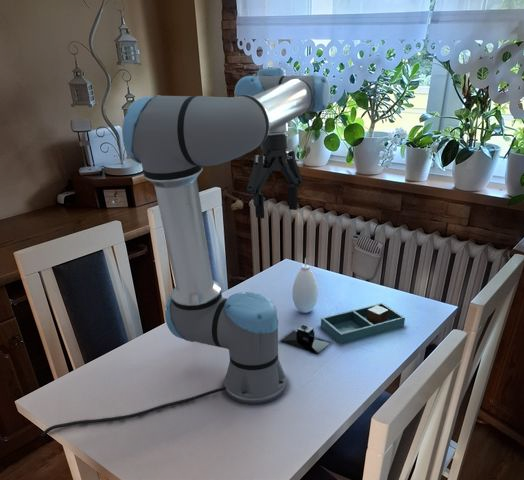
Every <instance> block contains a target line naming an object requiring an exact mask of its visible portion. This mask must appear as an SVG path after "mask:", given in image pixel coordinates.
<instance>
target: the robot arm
mask: <svg viewBox="0 0 524 480" xmlns="http://www.w3.org/2000/svg"><path fill="white" fill-rule="evenodd" d="M330 99H331V85H330V80H329V78H328V77H327V76H326V75H324V74H305V75H287V74H286V70H285V69H284V68H282V67H267V68H260V69H258V70H257V73H256V75H250V74H249V75H246V76H243V77H241V78H240V79H239V80H238V81H237V82H236V84H235V87H234V96H231V97H230V96H229V97H227V96H212V95H211V96H208V95H195V96H194V95H193V96H191V95H160V94H158V95H152V96H143V97H139V98H136V99H135V100H134V101H132V103H131V104H130V105H129V107H128V108H127V110H126V114H125V116H124V118H123V121H122V130H121V134H122V135H121V136H122V143H123V147H124V150H125V153H126V154H127V155H128V157H130V159H131V161H133V162H136V163H137V164H141V168H142V172H143V176H144V178H145V179H146V180H147V181H149V182H150V183H151V184H152V185H153V186H154V191H155V195H156V200H157V205H158V209H159V215H160V219H161V222H162V228H163V232H164V237H165V242H166V247H167V253H168V256H169V262H170V265H171V271H172V274H173V279H174V284H175V285H174V286H175V287H174V288H172V290H171V293H170V295H169V297H168V299H167V301H166V303H165V304H166V305H165V308H166V310H165V311H164V316H165V323H166V326H167V328H168V329H169V331H170V333H171V334H172V335H173V336H175V337H176V338H178V339H182V340H184V341H187V342H190V343H200V344H203V345H208V346H211V347H217V348H222V349H226V350H228V355H229V362H228V366H227V370H226V373H225V376H224V379H223V385H224V386H222V387H219V388H215V389H212V390H209V391H206V392H203V393H200V394H197V395H194V396H191V397H187V398H184V399H180V400H176V401H173V402H172V401H171V402H168V403H165V404H161V405H158V406H154V407H151V408H148V409H145V410H142V411H138V412H135V413H130V414H125V415H120V416H113V417H105V418H104V417H103V418H95V419H83V420H81V419H80V420H75V421H71V422H65V423H58V424H54V425H51V426H49V427H47V428H46V429H45V430H44V431H43V432H42V433H41V434H40V437H41V438H42V437H45V436H47V434H48V433H50V432H52V431H53V430H56V429H61V428H66V427H71V426H76V425H85V424H86V425H87V424H98V423H99V424H100V423H106V422H114V421H121V420H127V419H132V418H136V417H140V416H143V415H146V414H150V413H154V412H156V411H159V410H162V409H166V408H169V407H173V406H177V405H180V404H185V403H189V402H192V401H195V400H199V399H201V398H204V397H207V396H209V395H210V396H211V395H213V394H216V393H219V392H223V391H225V393H226V396H228V397H229V398H230V399H231V400H233V401H234V402H237V403H240V404H245V405H263V404H267V403H271V402H273V401H276V400H277V399H279V398H280V397H281V396H282V395H283V394H284V393H285V391H286V389H287V377H286V374H285V371H284V369H283V366H282V364H281V362H280V359H279V318H278V311H277V307H276V305H275V304H274V302H273V301H272V300H271V299H270V298H268V297H267V296H265V295H263V294H260V293H256V292H249V291H247V292H245V293H244V292H238V293H234V294H231V295H229V296H228V297H227V298H225V297H223V292H222V288H221V284H220V283H218V282H217V281H216V280H214V279H213V272H212V265H211V260H210V253H209V248H208V247H209V246H208V241H207V235H206V229H205V223H204V222H205V221H204V217H203V210H202V204H201V197H200V192H199V191H200V189H199V185H198V177H199V176H200V174H201V173H202V172H203V170H204V169H203V166H204V167H208V166H209V167H211V166H217V165H220V164H225V163H228V162H230V161H232V160H235V159H237V158H240V157H243V156H244V155H246V154H248V153H250V152H252V151H254V150H255V149H257V148H259V147H260V150H261V151H262V154H260V155H259V154H255V155H253V165H252V168H251V172H250V176H249V180H248V184H247V187H246V192H247V193H250V194H252V200H253V206H254V208H255V209H254V210H255V218H258V219H265V203H264V193H262V191H263V189H264V186H265V185H266V183H267V181H268V179H269V177H270V174H272V173H273V172H275V171H280V172H281V173H282V175H283V176H284V179H286V181H287V182H288V184H289V185H290V186H288V188H287V190H288V191H287V192H288V210H292V211H298V196H299V187H301V186H302V184H303V183H304V179H303V177H302V174H301V171H300V168H299V166H298V163H297V159H296V153H295V151H294V150H287V149H288V148H289V135H288V134H287V132H288V131H289V130H288V129H289V128H288V127H289V126H288V123H290V122H291V121H293V120H295V119H297V118H298V117H300V116H301V115H303V114H305V113H307V112H313V113H316V112H323V111H325V110H327V108H328V106H329V102H330Z"/></svg>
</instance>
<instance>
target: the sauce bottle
mask: <svg viewBox="0 0 524 480" xmlns="http://www.w3.org/2000/svg"><path fill="white" fill-rule="evenodd" d="M318 288H319V287H318V282H317V279H316V277H315V274H314V272H313V271H312V269H311V267H310V265H308V264H307V258H306V257H305V258H304V264H302V265H301V266H300V269H299V271H298V272H297V274H296V276H295V278H294V282H293V284H292V291H291V292H292V295H291V296H292V301H293V305H294V307H295V308H296V310H298V311H299V312H300V313H305V314H306V313H309V312H311V311H312V310H313V309H314V308H315V306H316V304H317V301H318V297H319V289H318Z"/></svg>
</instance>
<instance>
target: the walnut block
mask: <svg viewBox="0 0 524 480" xmlns="http://www.w3.org/2000/svg"><path fill="white" fill-rule="evenodd" d="M388 313H389V310H388V309H385V308H383V307H380V306H378V305H376V306H374V307H372V308H370V309H368V310H367V320H368V321H369V322H371V323H372V324H373V325H375V324H378V323H382V322H386V321H388Z"/></svg>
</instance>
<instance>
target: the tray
mask: <svg viewBox="0 0 524 480" xmlns="http://www.w3.org/2000/svg"><path fill="white" fill-rule="evenodd" d="M376 305H378V306H380V307H383V308H385V309H388V310H389V313H388V321H386V322H382V323H378V324H375V325H373V324H372V323H371V322H369V321H368V320H367V310H368V309H370V308H372V307H374V306H376ZM405 323H406V317H405V316H404V315H402V314H400V313H398V311H395V310H394V309H392V308H391V307H389V306H387V304H385V303H383V302H380V303H375V304H372V305H368V306H363V307H359V308H356V309H351V310H348V311H344V312H340V313H336V314H335V313H334V314H331V315H328V316H323V317H320V328H321V329H322V330H324V332H325V333H327V334H328V335H329V336H330V337H332V338H333V339H334V340H335V341H336V342H337V343H338V344H340V345H342V344H347V343H351V342H354V341H357V340H361V339H364V338H367V337H368V338H369V337H372V336H375V335H378V334H382V333H383V334H384V333H387V332H390V331H394V330H397V329H401V328H404V327H405Z"/></svg>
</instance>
